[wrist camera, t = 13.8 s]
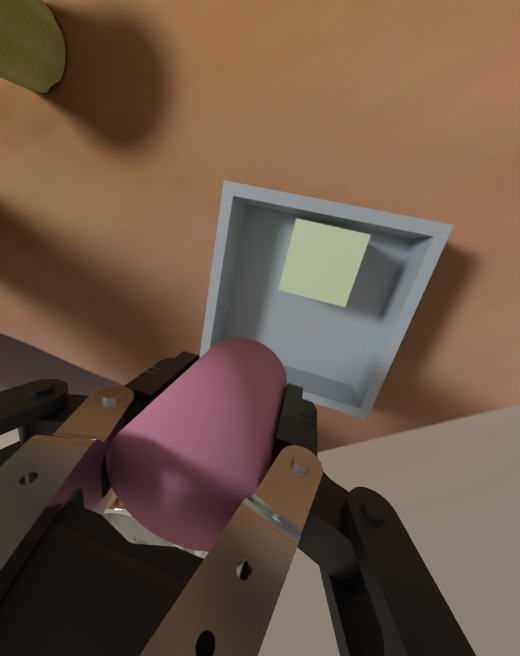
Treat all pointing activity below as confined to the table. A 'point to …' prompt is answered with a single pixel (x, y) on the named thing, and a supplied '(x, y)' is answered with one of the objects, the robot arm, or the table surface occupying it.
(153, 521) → the plum cylinder
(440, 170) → the table surface
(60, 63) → the plant pot
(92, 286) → the table surface
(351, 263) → the sage block
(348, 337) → the tub
